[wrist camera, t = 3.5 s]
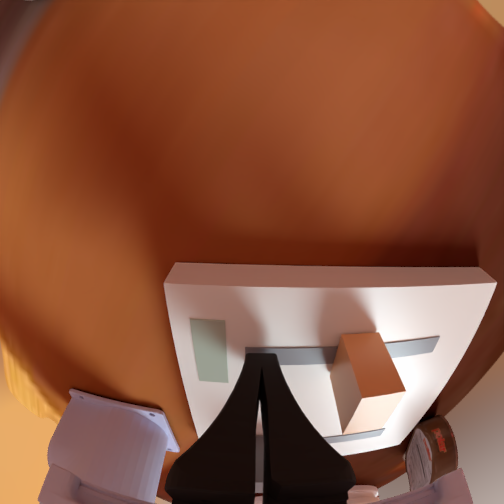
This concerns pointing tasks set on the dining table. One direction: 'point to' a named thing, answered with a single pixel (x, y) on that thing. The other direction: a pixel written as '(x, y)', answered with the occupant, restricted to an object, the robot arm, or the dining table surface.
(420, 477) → the tin
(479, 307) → the board
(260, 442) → the gray rectangular block
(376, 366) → the switch
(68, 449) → the robot arm
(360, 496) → the plate stack
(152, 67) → the dining table surface
